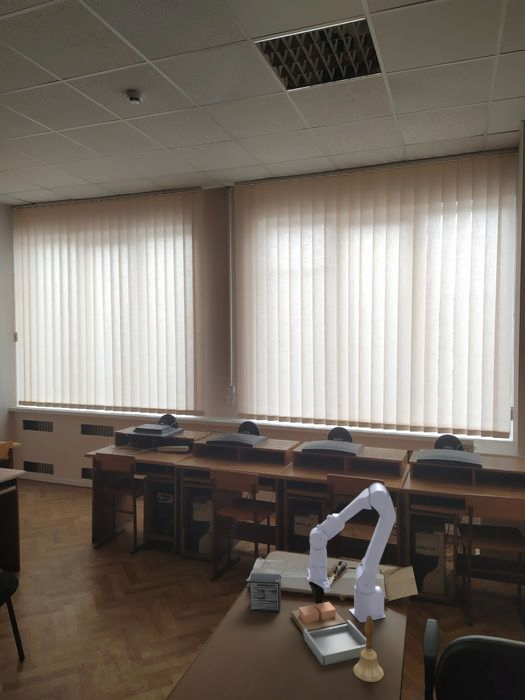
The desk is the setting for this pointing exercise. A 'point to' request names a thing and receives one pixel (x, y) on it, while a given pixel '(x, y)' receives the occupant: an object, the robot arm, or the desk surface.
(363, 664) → the hand bell
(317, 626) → the plate
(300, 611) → the tile far
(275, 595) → the small box
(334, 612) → the tile near
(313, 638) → the tray
